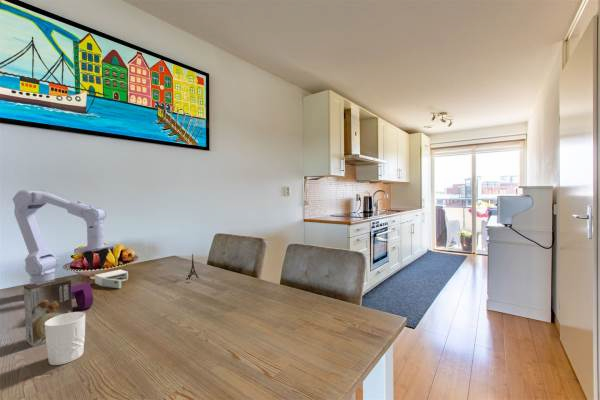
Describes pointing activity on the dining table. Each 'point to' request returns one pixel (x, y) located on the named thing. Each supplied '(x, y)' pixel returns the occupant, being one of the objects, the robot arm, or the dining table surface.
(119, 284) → the door
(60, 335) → the white cup
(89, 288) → the mounting bracket
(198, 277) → the eiffel tower figurine
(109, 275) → the cabinet
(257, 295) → the dining table surface
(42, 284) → the coffee box
